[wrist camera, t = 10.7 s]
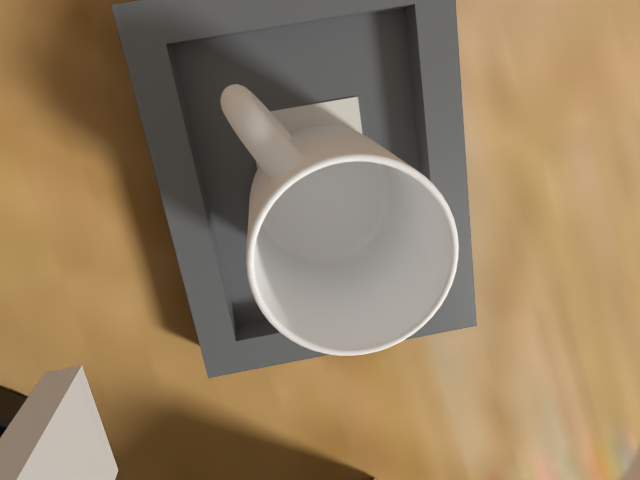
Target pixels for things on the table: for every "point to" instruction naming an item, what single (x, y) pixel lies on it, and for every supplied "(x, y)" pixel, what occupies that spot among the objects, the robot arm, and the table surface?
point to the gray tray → (294, 114)
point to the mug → (340, 234)
